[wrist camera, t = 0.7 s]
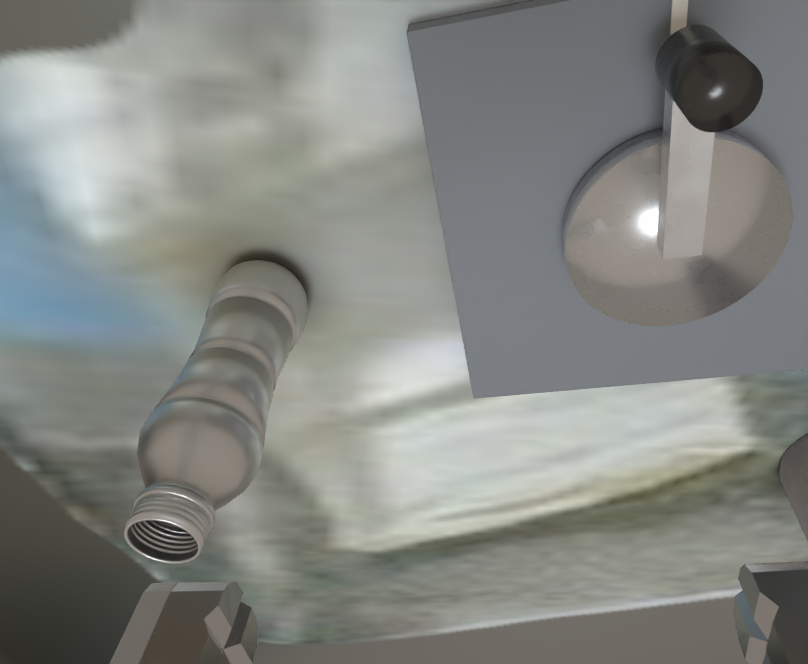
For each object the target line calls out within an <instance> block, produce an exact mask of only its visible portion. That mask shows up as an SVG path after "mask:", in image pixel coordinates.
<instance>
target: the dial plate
mask: <svg viewBox="0 0 808 664" xmlns="http://www.w3.org/2000/svg"><path fill="white" fill-rule="evenodd" d="M690 25H705V26H708V27H710V28H712V29H714V30H715V31H716V32H717V33H719V34H720V35H721V36H722V37H723V38H724V39H726V40H727V41H728V42H729V43H730V44H731V45H733V46H734V47H735V48H736V49H737V50H738V51H739V52H741V53H742V54H743V55H744V56H745V57H746V58H748V59H749V60H750V61H751V62H752V63H753V64H755V66H756V67H757V68H758V69H759V71H760V73H761V75H762V79H763V91H762V96H761V98H760V101H759V103H758V105H757V106H756V108H755V109H754V111H753V112H752V113H751V114H750V115H749V116H748V118H746V119H745V120H744V121H743V122H741V123H740V124H738V125H737V126H735V127H733V128H731V129H728V130H729V131H732V132H734V133H736V134H738V135H740V136H742V137H744V138H746V139H747V140H748V141H750V142H751V143H753V144H754V145H755V146H756V147H757V148H758V149H759V150H760V151H761V152H762V153H763V154H764V155H765V156H766V157H767V158H768V159H769V161H770V162H771V163H772V164H773V165H774V166H775V167H776V168H777V170H778V171H779V172H780V174H781V175H782V177H783V178H784V180H785V182H786V184H787V186H788V189H789V191H790V195H791V199H792V203H793V221H792V229H791V232H790V236H789V239H788V242H787V244H786V247H785V249H784V251H783V253H782V255H781V257H780V258H779V260H778V262H777V263H776V265H775V266H774V268H773V269H772V270H771V271H770V273H769V274H768V275H767V276H766V277H765V278H764V279H763V281H762V282H761V283H760V284H759V285H758V286H757V287H755V288H754V289H753V290H752V291H751V292H749V293H748V294H747V295H746V296H744V297H743V298H741V299H740V300H738V301H737V302H736V303H734V304H732V305H730V306H729V307H727V308H725V309H723V310H721V311H719V312H717V313H715V314H712V315H710V316H708V317H705V318H702V319H699V320H696V321H692V322H688V323H684V324H678V325H671V326H656V327H655V326H640V325H633V324H628V323H625V322H621V321H618V320H615V319H613V318H610V317H608V316H606V315H604V314H602V313H600V312H599V311H597V310H596V309H595V308H593V307H592V306H591V305H589V304H588V303H587V302H586V301H585V300H584V299H583V298H582V297H581V295H580V294H579V292H578V291H577V290H576V288H575V286H574V284H573V282H572V280H571V278H570V275H569V272H568V268H567V264H566V260H565V255H564V251H563V244H562V225H563V219H564V215H565V212H566V208H567V205H568V203H569V201H570V199H571V197H572V195H573V193H574V191H575V189H576V188H577V186H578V185H579V183H580V182H581V180H582V179H583V178H584V177H585V175H586V174H587V173H588V172H589V171H590V169H591V168H592V167H594V166H595V165H596V164H597V163H598V162H599V161H600V160H601V159H602V158H603V157H605V156H606V155H607V154H609V153H610V152H611V151H613V150H614V149H616V148H617V147H619V146H621V145H622V144H624V143H626V142H627V141H629V140H632V139H634V138H636V137H638V136H640V135H643V134H646V133H649V132H651V131H654V130H658V129H662V128H663V118H664V99H665V88H664V87H663V86H662V84H661V83H660V81H659V80H658V78H657V75H656V71H655V63H656V58H657V55H658V52H659V50H660V48H661V46H662V45H663V43H664V42H665V41H666V40H667V39H668V38H669V37H670V36H671V35H672V34H673V33H675V32H676V31H678V30H680V29H682V28H684V27H687V26H690ZM407 37H408V42H409V48H410V53H411V59H412V64H413V70H414V75H415V81H416V86H417V91H418V97H419V102H420V108H421V113H422V119H423V124H424V130H425V135H426V141H427V146H428V151H429V157H430V162H431V168H432V173H433V179H434V184H435V190H436V195H437V201H438V206H439V212H440V217H441V222H442V228H443V233H444V239H445V244H446V250H447V255H448V261H449V266H450V272H451V277H452V282H453V288H454V293H455V299H456V304H457V310H458V315H459V321H460V326H461V332H462V337H463V342H464V348H465V353H466V359H467V364H468V370H469V375H470V381H471V386H472V392H473V397H474V398H486V397H497V396H509V395H520V394H531V393H543V392H554V391H566V390H577V389H589V388H600V387H612V386H623V385H634V384H646V383H657V382H669V381H680V380H692V379H703V378H714V377H726V376H737V375H749V374H760V373H772V372H783V371H795V370H806V369H808V0H531V1H526V2H521V3H516V4H511V5H506V6H501V7H496V8H491V9H486V10H480V11H475V12H470V13H465V14H460V15H455V16H450V17H445V18H440V19H435V20H430V21H425V22H420V23H415V24H410V25H409V26H408V29H407Z"/></svg>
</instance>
